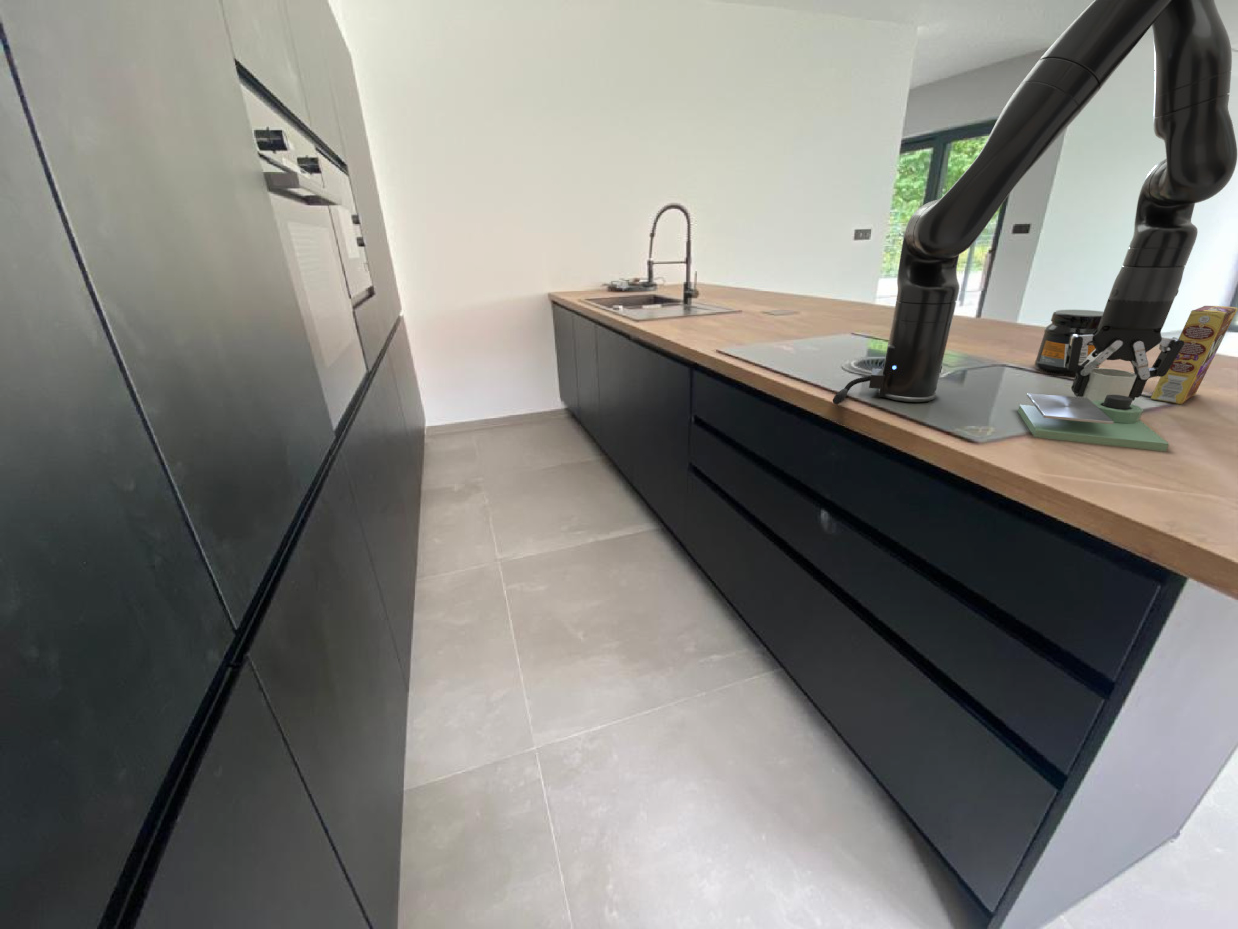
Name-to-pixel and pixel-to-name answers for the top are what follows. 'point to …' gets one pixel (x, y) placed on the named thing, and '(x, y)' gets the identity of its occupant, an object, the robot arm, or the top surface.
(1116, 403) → the tare button
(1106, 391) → the white cup
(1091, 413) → the scale pan
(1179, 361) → the candy box
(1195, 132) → the robot arm
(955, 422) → the top surface
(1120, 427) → the scale
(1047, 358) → the supplement container
